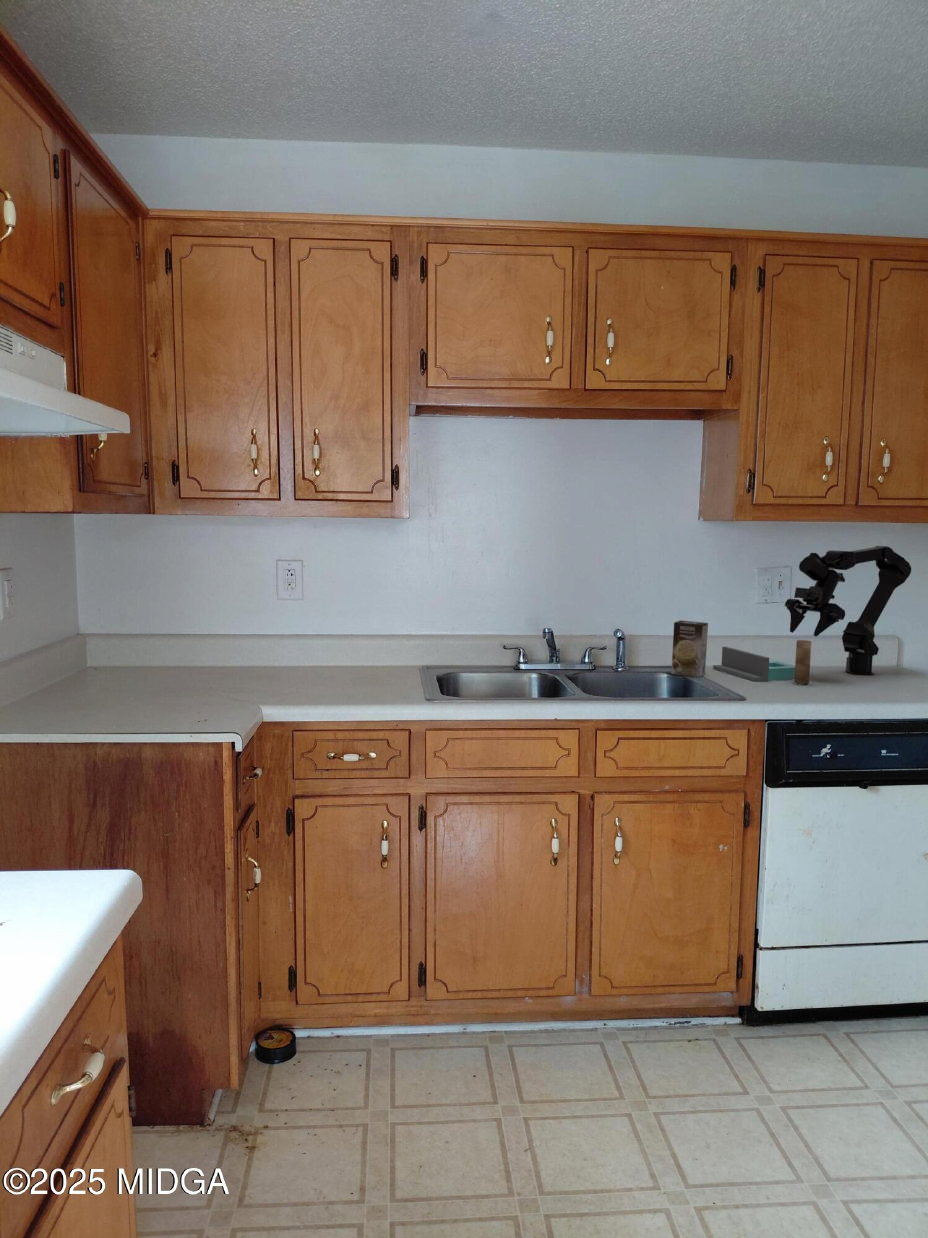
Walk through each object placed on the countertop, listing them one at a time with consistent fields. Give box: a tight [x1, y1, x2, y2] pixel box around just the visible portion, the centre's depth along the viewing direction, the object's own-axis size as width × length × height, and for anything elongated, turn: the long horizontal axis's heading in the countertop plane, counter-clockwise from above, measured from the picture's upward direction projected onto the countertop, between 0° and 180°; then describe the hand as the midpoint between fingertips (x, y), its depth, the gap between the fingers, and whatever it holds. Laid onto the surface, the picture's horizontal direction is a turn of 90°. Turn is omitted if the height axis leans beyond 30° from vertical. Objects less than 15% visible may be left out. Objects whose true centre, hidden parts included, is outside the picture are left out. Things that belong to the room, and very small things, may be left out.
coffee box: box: [670, 619, 709, 678], centre depth 264 cm, size 9×6×16 cm
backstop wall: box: [712, 646, 770, 683], centre depth 265 cm, size 5×22×7 cm, turn 16°
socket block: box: [767, 661, 795, 682], centre depth 262 cm, size 11×11×4 cm
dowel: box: [793, 639, 812, 685], centre depth 251 cm, size 4×4×12 cm
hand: (802, 634), depth 259 cm, fingers open, 9 cm apart
